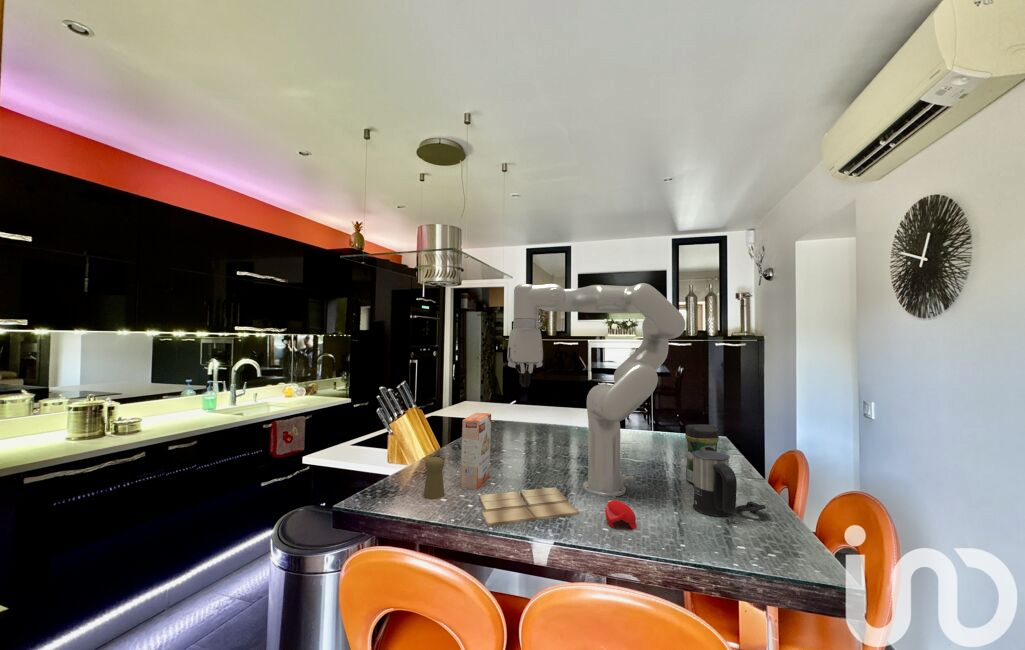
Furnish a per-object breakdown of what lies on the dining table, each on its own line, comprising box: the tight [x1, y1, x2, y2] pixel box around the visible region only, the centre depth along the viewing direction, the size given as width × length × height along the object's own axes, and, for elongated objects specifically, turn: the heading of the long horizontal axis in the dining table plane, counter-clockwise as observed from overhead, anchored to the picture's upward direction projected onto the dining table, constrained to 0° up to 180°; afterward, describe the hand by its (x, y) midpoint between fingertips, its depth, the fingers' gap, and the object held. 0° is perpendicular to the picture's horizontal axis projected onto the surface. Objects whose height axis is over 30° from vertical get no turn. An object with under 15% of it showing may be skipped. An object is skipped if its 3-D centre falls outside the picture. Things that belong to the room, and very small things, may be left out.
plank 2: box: [519, 486, 569, 506], centre depth 112 cm, size 11×8×1 cm
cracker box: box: [459, 412, 492, 491], centre depth 126 cm, size 14×6×21 cm, turn 168°
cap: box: [604, 499, 637, 530], centre depth 97 cm, size 8×6×6 cm
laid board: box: [480, 500, 580, 527], centre depth 102 cm, size 24×7×1 cm, turn 108°
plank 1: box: [478, 491, 527, 511], centre depth 109 cm, size 11×8×1 cm
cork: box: [423, 456, 445, 500], centre depth 114 cm, size 6×6×11 cm
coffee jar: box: [684, 423, 720, 485], centre depth 129 cm, size 10×8×19 cm
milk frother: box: [692, 450, 766, 517], centre depth 107 cm, size 14×16×15 cm
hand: (525, 386), depth 120 cm, fingers closed
